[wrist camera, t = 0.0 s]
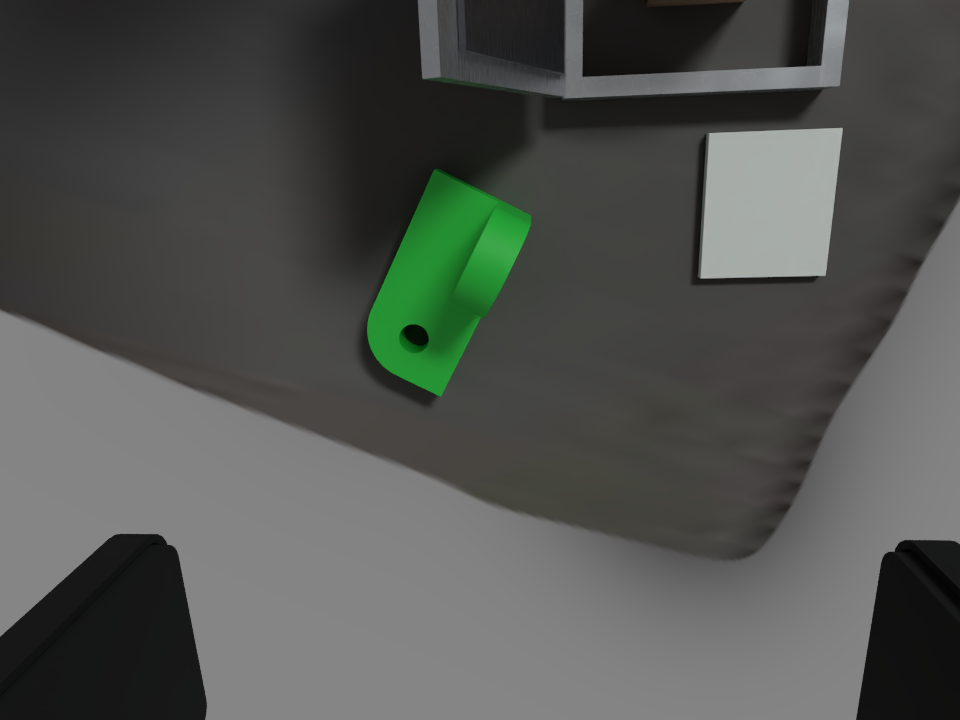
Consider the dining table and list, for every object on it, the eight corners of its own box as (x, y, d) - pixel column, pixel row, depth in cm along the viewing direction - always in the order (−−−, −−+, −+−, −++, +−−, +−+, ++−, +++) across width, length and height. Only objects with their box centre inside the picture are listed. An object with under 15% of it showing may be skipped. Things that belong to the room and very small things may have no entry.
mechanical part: (439, 168, 39) (416, 171, 31) (530, 215, 39) (531, 229, 31) (359, 344, 42) (322, 386, 34) (444, 385, 42) (426, 436, 35)
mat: (706, 133, 37) (709, 133, 36) (837, 128, 36) (842, 127, 36) (698, 276, 39) (700, 278, 38) (821, 274, 38) (825, 275, 38)
